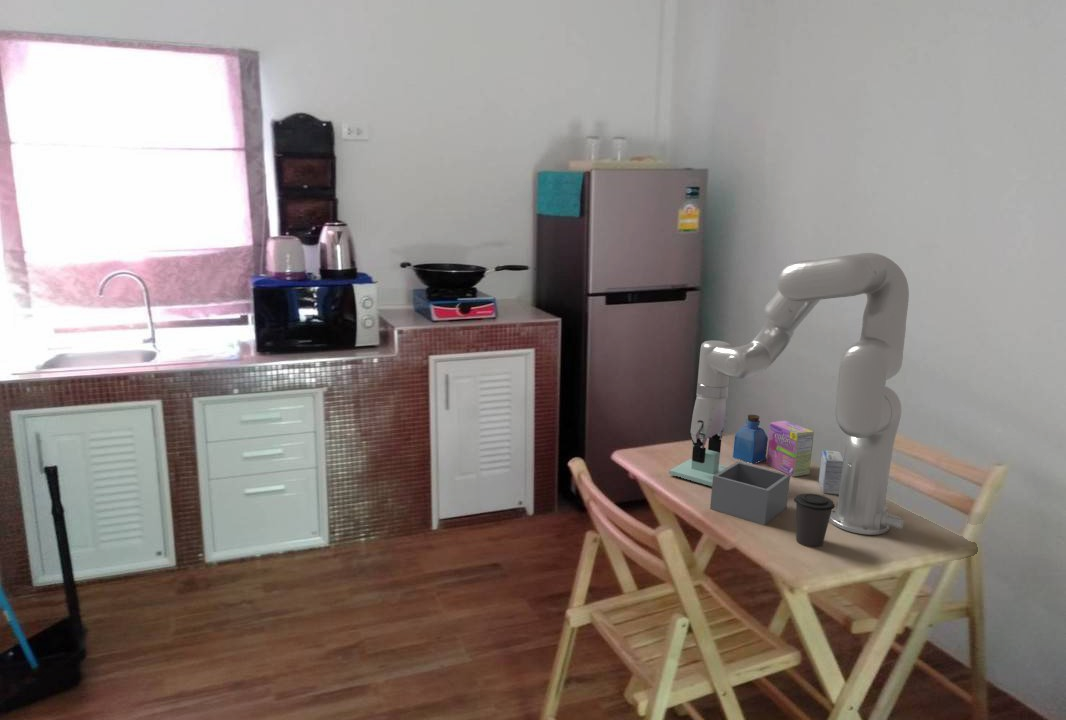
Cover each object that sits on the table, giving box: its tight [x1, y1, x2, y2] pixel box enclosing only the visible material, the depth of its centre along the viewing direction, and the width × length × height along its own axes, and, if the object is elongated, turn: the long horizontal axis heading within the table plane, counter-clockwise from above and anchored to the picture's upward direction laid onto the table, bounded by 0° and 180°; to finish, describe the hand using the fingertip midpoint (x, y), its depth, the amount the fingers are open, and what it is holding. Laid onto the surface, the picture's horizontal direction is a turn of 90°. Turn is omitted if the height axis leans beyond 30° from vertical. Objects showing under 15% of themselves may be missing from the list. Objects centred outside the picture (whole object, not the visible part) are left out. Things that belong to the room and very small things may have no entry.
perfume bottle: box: [732, 414, 769, 464], centre depth 220 cm, size 6×6×12 cm
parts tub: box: [709, 461, 791, 526], centre depth 187 cm, size 13×13×8 cm
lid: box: [668, 448, 729, 488], centre depth 206 cm, size 13×13×7 cm
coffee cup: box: [793, 493, 836, 548], centre depth 170 cm, size 8×8×10 cm
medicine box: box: [818, 450, 844, 496], centre depth 201 cm, size 8×4×9 cm, turn 168°
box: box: [766, 420, 815, 478], centre depth 213 cm, size 10×6×12 cm, turn 25°
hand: (706, 457), depth 206 cm, fingers open, 8 cm apart
